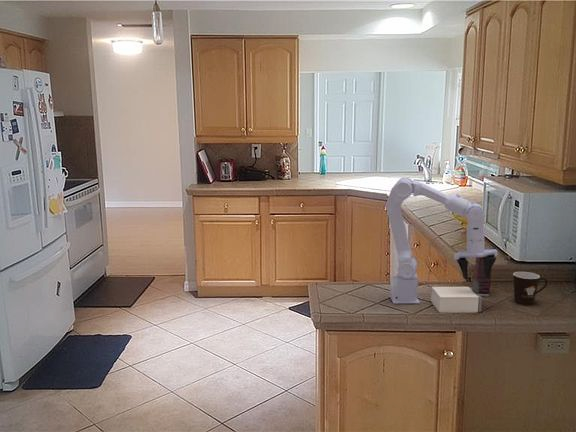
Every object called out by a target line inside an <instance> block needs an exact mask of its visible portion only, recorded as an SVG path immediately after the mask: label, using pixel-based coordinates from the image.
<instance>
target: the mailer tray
mask: <svg viewBox="0 0 576 432" xmlns="http://www.w3.org/2000/svg"><path fill="white" fill-rule="evenodd" d="M468 287H469V288H470V289H471V290H472V291H473V292H474V293H475V294H476V295H477V296H478V297H479V301H478V313H480V312H481V313H482V301H483V296H480V295H479V294H478V292H479V282H477V281H476V280H475V279H472V287H470V286H468Z"/></svg>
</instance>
